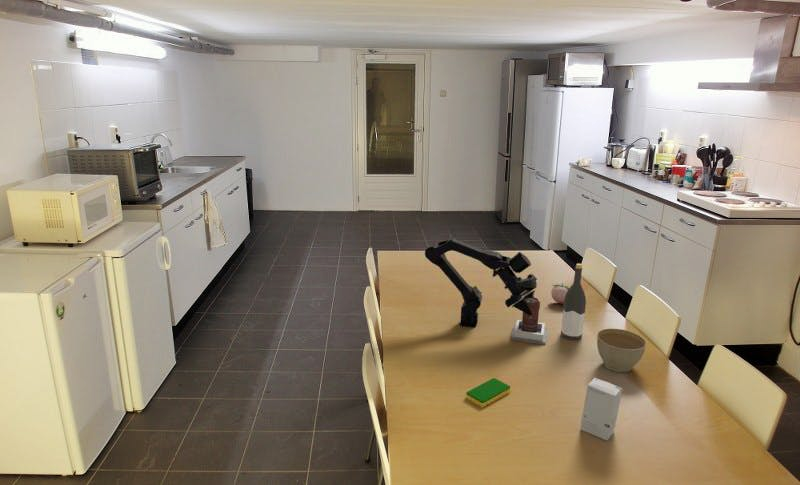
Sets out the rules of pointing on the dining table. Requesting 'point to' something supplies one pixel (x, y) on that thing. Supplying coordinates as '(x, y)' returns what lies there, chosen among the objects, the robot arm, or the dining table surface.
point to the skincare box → (601, 408)
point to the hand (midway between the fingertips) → (534, 312)
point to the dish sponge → (488, 392)
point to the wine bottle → (574, 308)
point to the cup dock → (529, 334)
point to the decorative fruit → (559, 292)
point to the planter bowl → (620, 349)
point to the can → (531, 320)
